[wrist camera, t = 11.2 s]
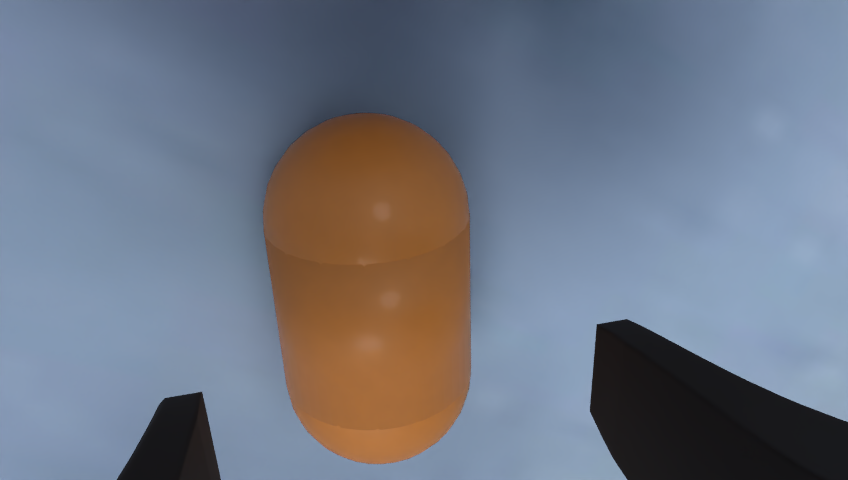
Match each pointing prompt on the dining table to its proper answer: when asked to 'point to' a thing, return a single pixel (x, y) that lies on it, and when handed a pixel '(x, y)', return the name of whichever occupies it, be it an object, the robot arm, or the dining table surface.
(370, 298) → the bread roll
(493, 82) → the dining table surface
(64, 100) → the dining table surface
